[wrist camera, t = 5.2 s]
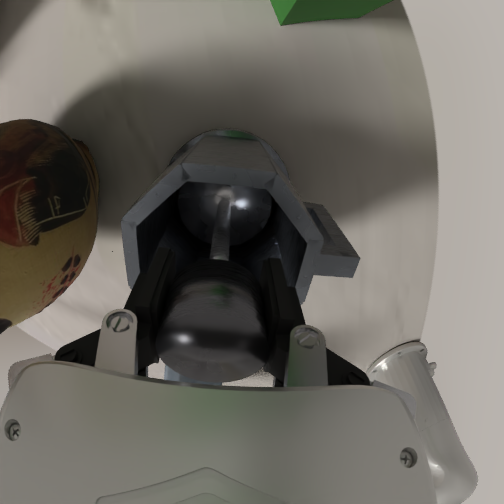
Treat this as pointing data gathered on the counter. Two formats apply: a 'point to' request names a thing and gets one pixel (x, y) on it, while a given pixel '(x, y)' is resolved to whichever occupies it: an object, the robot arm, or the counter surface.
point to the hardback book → (322, 9)
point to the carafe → (257, 248)
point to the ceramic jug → (42, 216)
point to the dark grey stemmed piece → (217, 289)
